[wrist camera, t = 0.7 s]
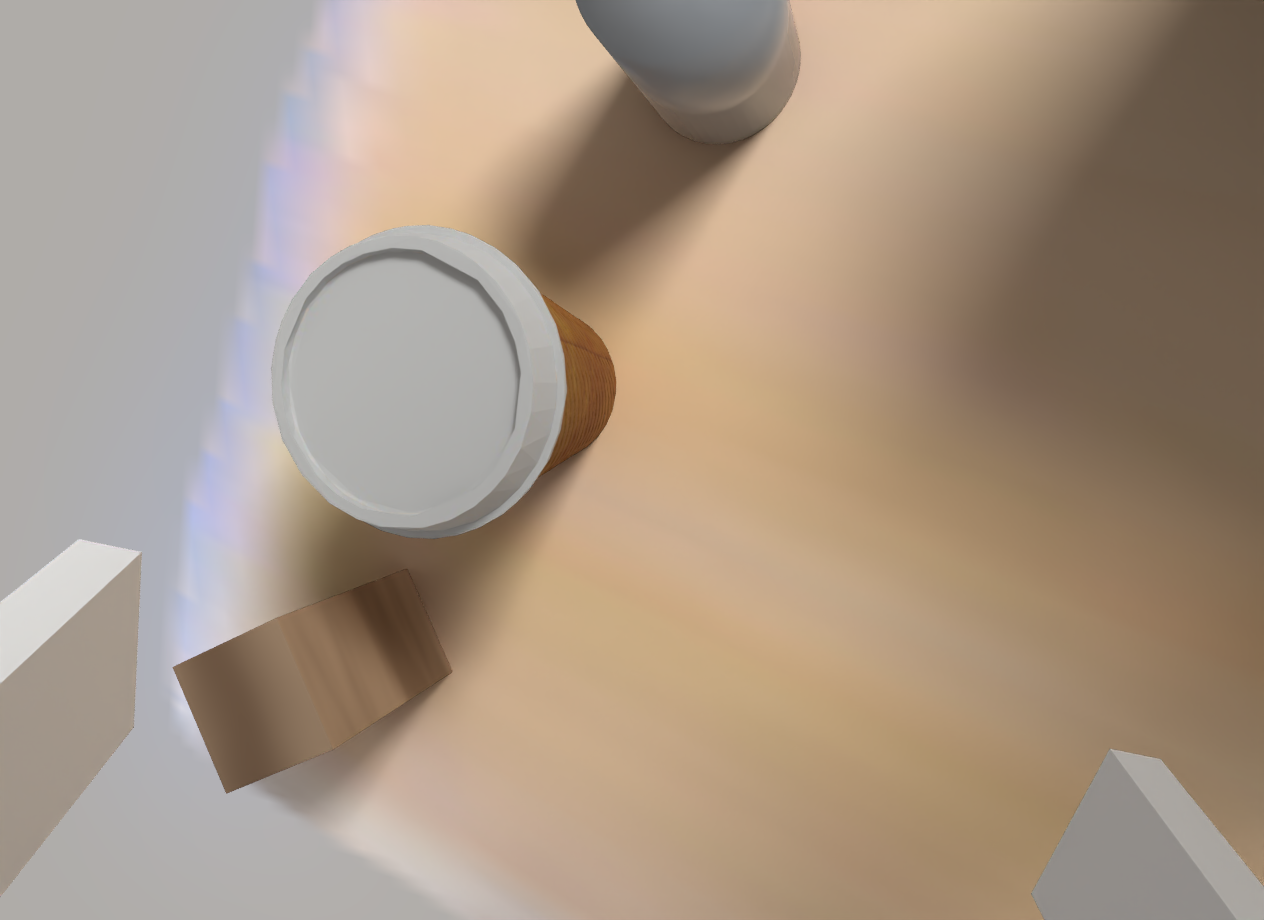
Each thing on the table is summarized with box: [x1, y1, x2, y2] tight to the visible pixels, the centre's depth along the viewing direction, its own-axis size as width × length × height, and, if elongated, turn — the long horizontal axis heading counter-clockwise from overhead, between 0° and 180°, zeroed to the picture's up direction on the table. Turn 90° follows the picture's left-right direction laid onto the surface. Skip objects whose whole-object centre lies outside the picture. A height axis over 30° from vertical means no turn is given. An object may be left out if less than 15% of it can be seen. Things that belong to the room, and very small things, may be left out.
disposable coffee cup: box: [271, 225, 616, 539], centre depth 32 cm, size 10×10×12 cm
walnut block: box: [173, 569, 452, 793], centre depth 36 cm, size 5×5×9 cm
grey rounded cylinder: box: [576, 0, 801, 144], centre depth 31 cm, size 6×6×9 cm
